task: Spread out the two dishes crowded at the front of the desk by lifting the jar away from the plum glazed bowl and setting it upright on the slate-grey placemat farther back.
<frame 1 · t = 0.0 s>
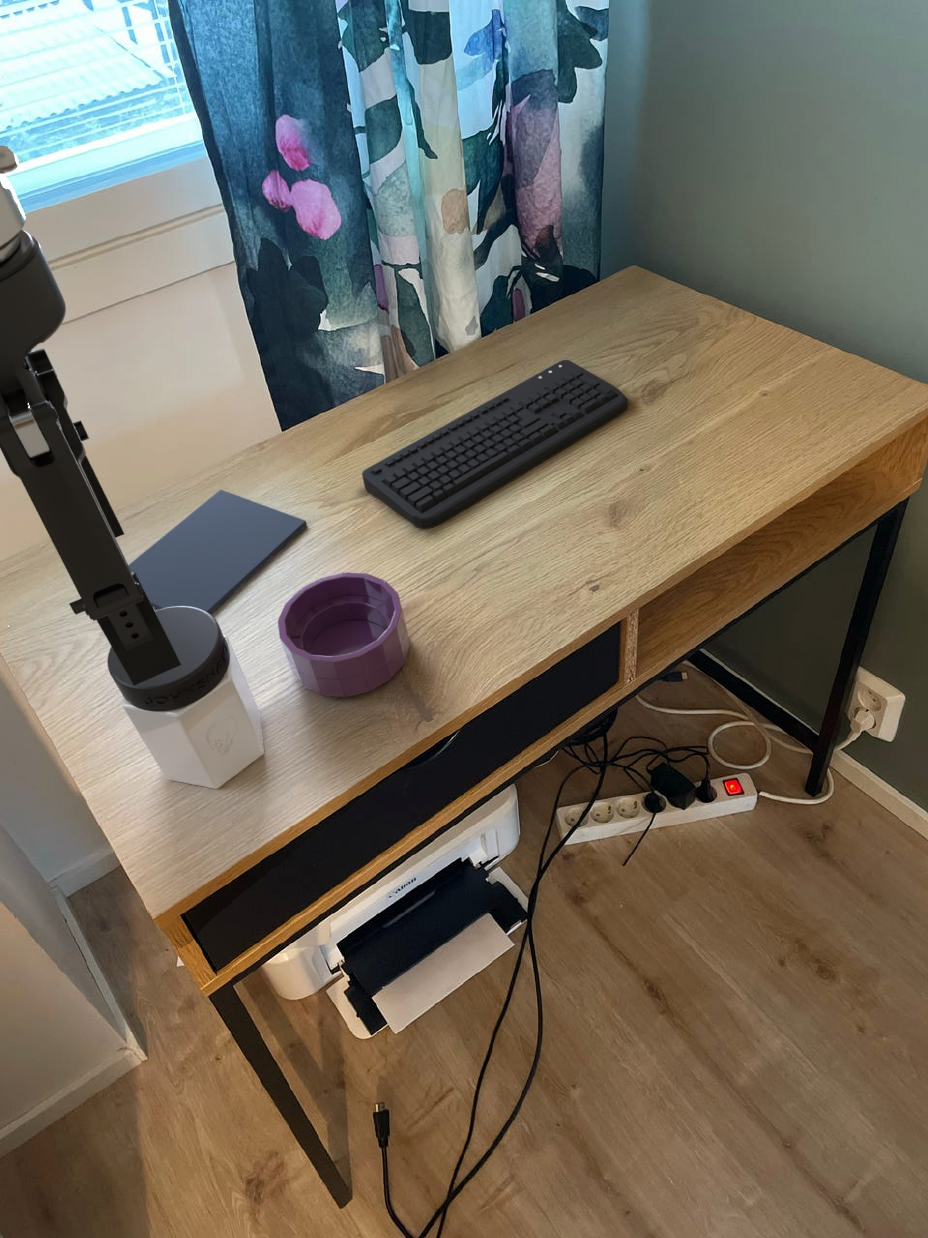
hand: (127, 600, 54), 21 cm above the table, tool pointing down, fingers open, 13 cm apart
bowl: (351, 655, 77), on the table
placemat: (210, 555, 89), on the table
keyboard: (502, 446, 97), on the table
jar: (215, 746, 72), on the table
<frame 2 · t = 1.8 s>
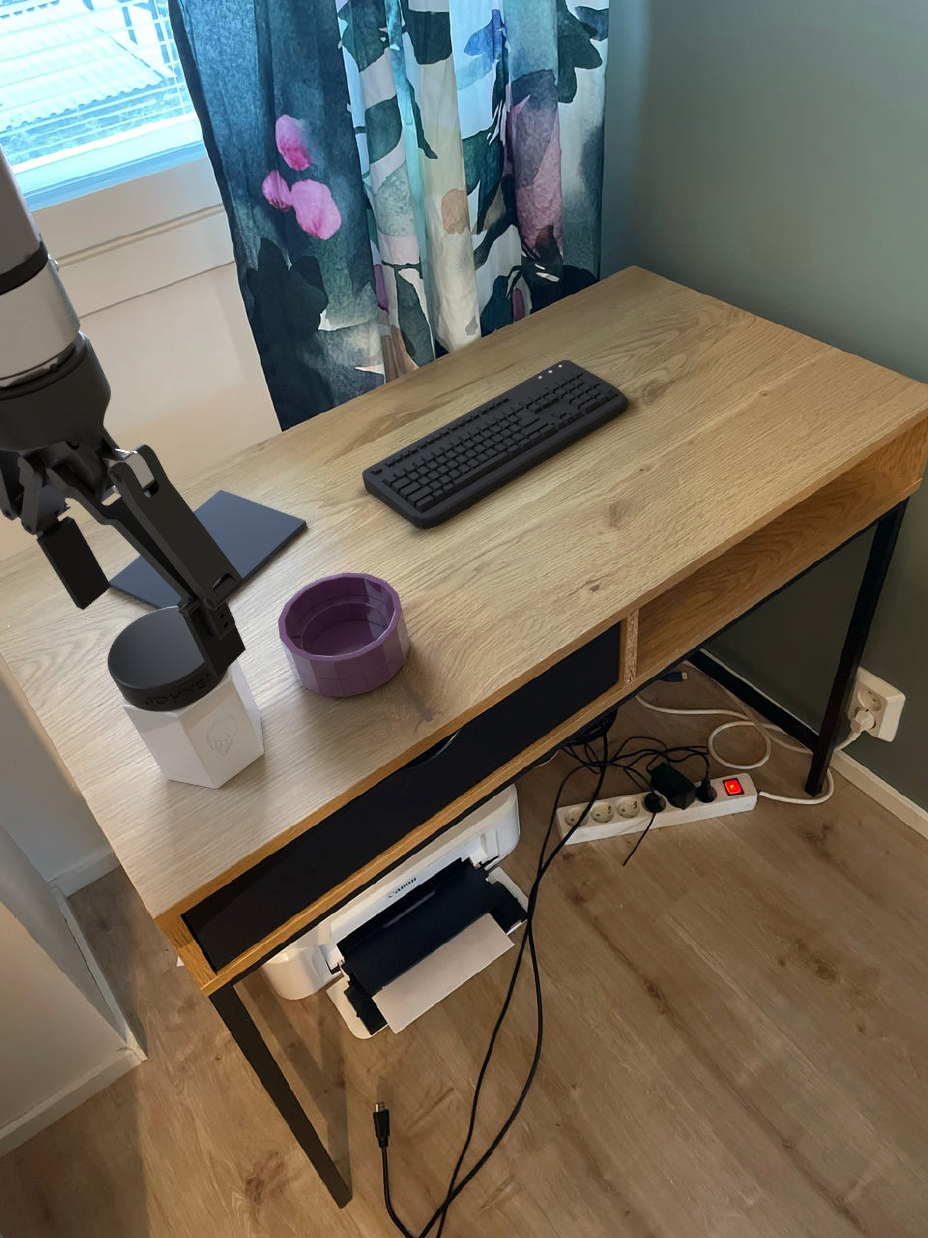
hand: (158, 627, 62), 14 cm above the table, tool pointing down, fingers open, 13 cm apart
nothing on the table moved.
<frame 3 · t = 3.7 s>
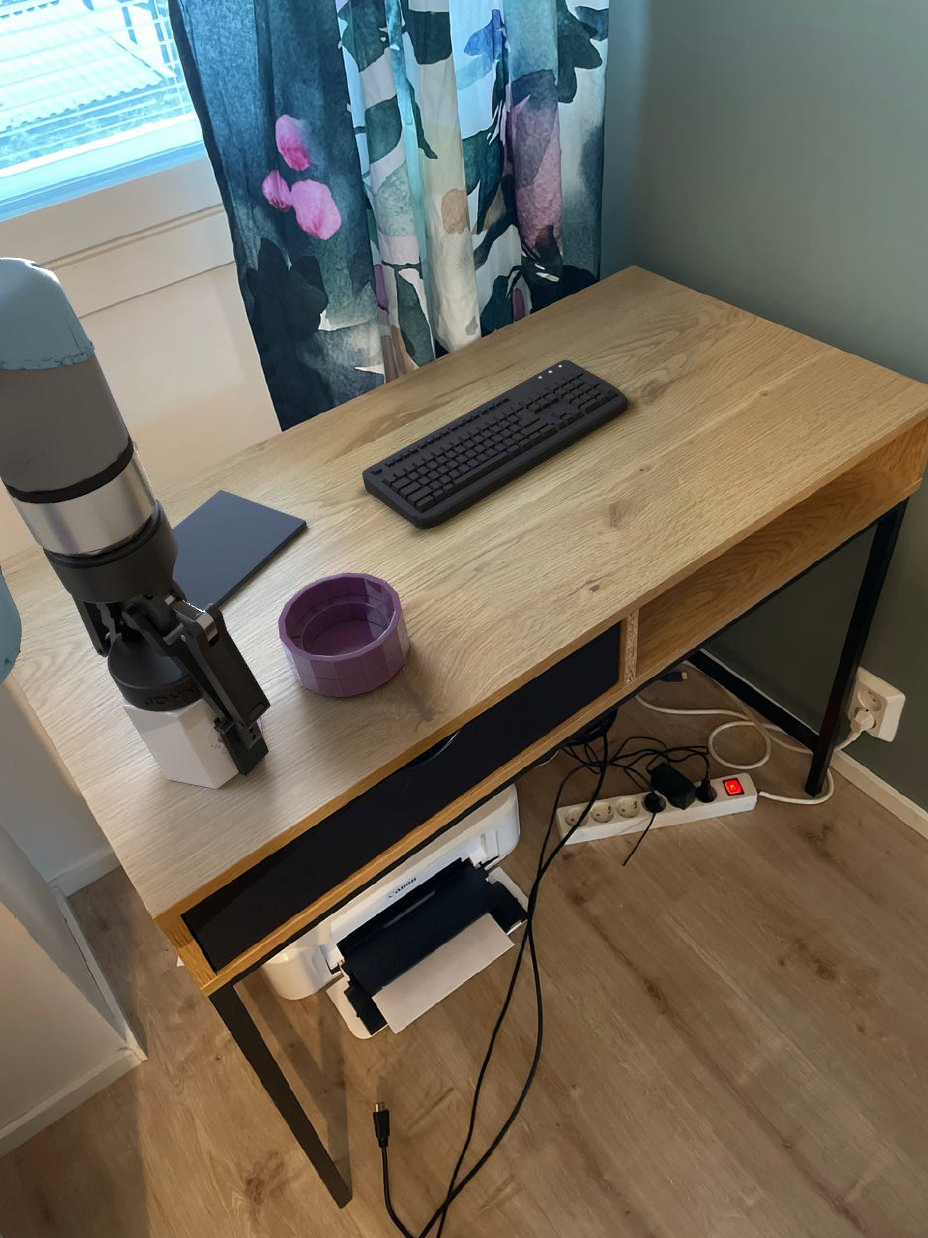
hand: (211, 738, 71), 1 cm above the table, tool pointing down, fingers closed on jar, 9 cm apart
jar: (215, 746, 72), on the table, touching gripper
everything else where it was.
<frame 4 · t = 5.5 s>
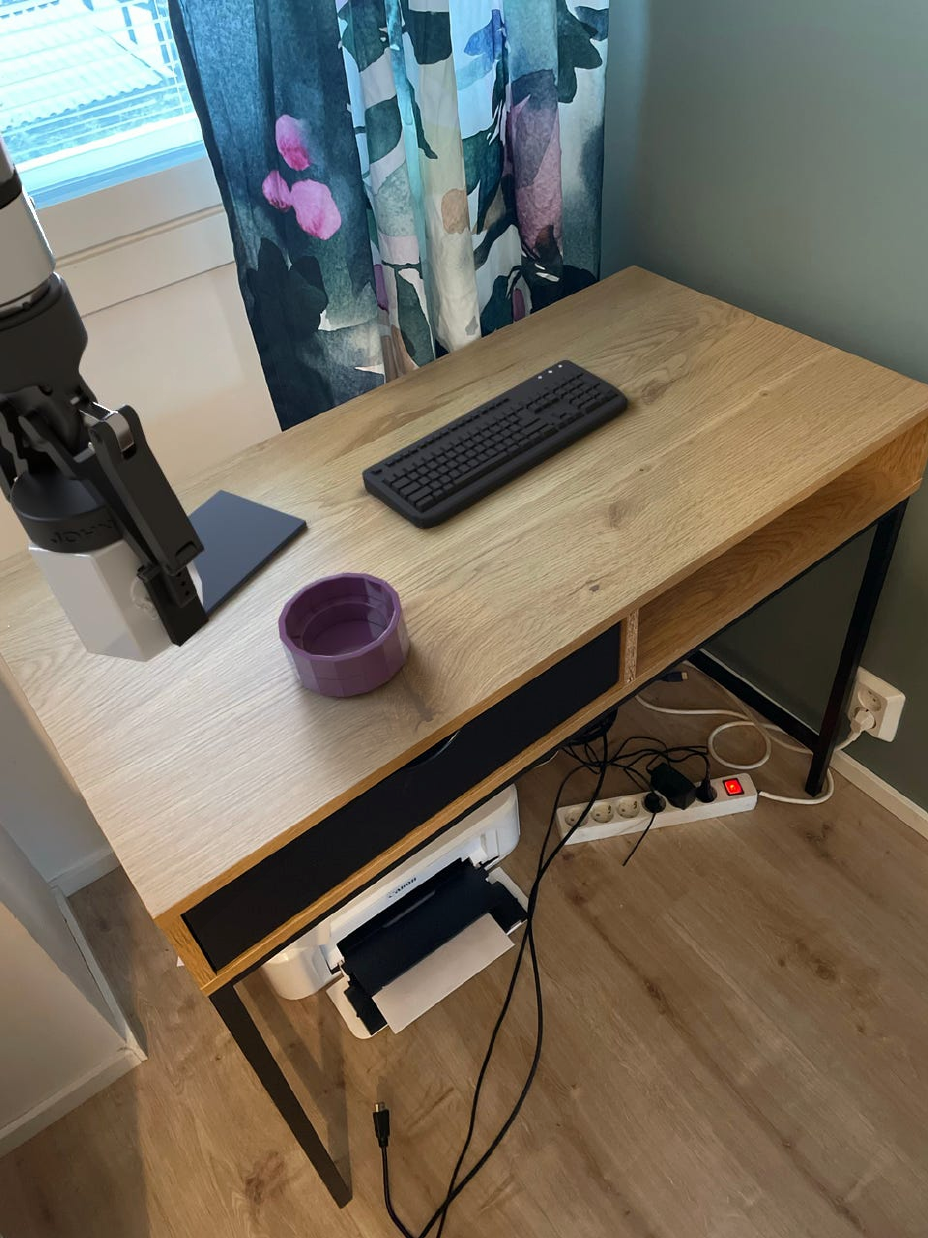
hand: (143, 608, 61), 16 cm above the table, tool pointing down, fingers closed on jar, 9 cm apart
jar: (148, 619, 62), point 14 cm above the table, touching gripper
everything else where it was.
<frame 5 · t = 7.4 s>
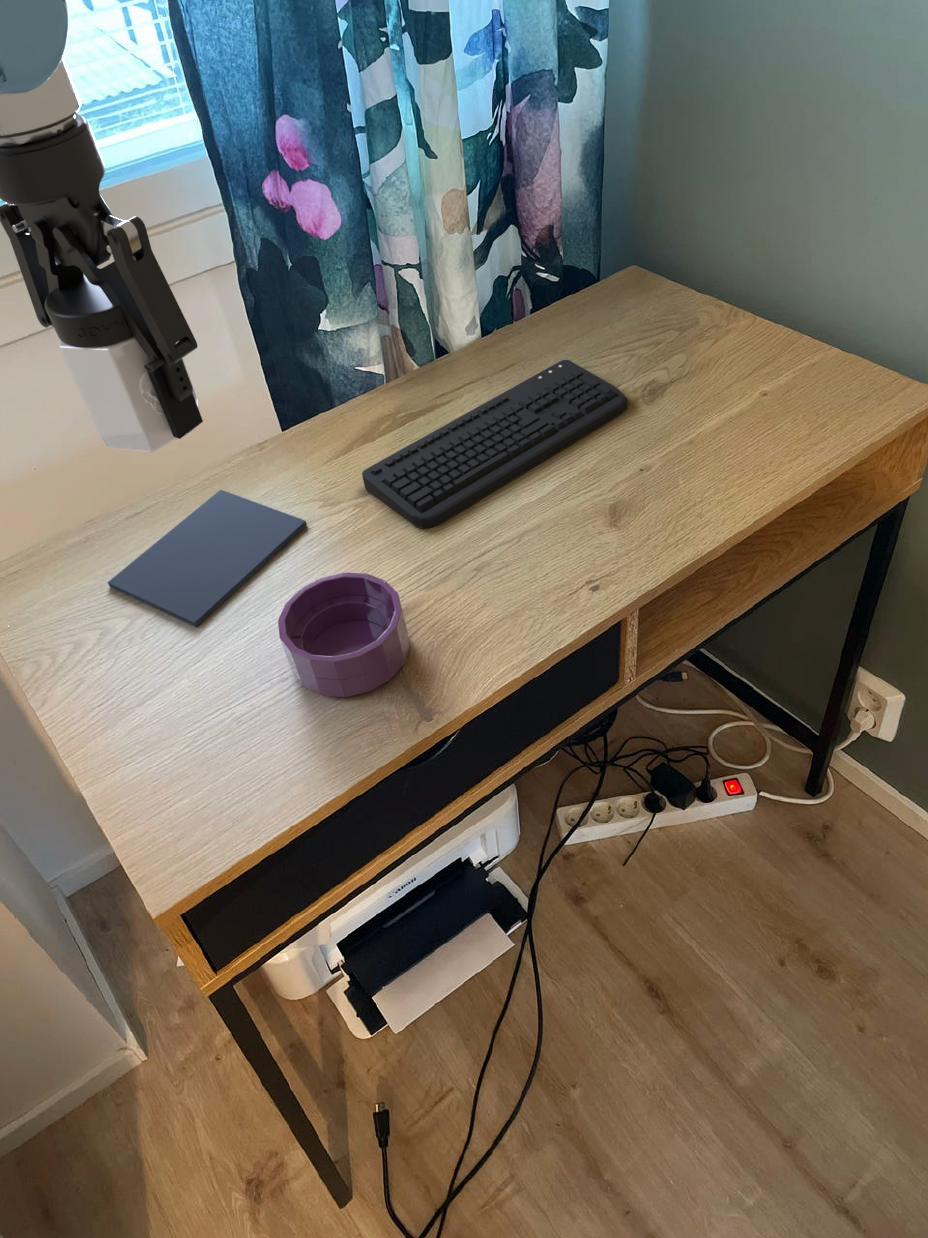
hand: (149, 415, 76), 17 cm above the table, tool pointing down, fingers closed on jar, 9 cm apart
jar: (154, 426, 76), point 16 cm above the table, touching gripper
everything else where it was.
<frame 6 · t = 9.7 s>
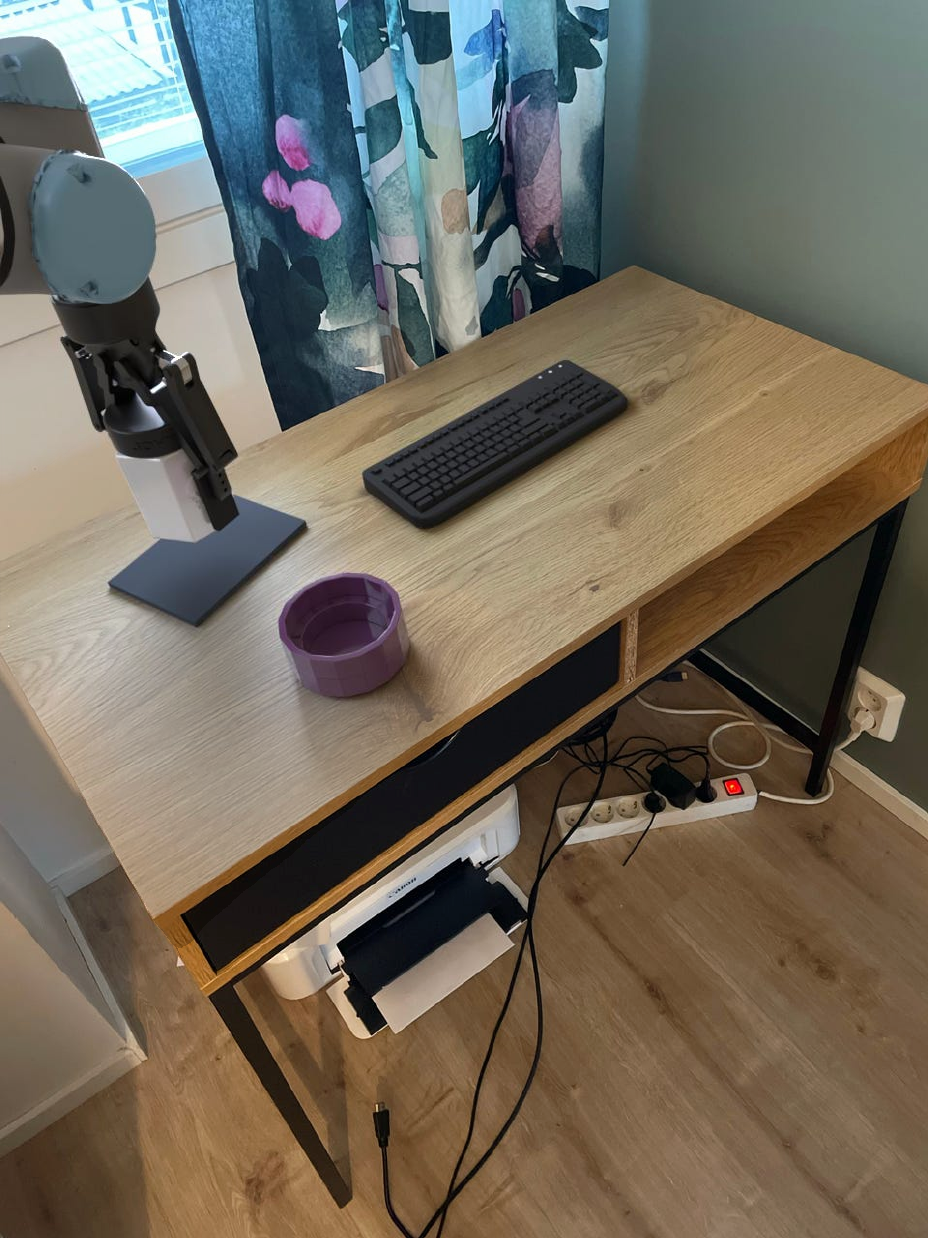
hand: (191, 507, 85), 6 cm above the table, tool pointing down, fingers closed on jar, 9 cm apart
jar: (194, 516, 85), point 5 cm above the table, touching gripper
everything else where it was.
when the fingers open (1 cm above the table, at t = 11.3 s): jar stays where it is, resting on placemat.
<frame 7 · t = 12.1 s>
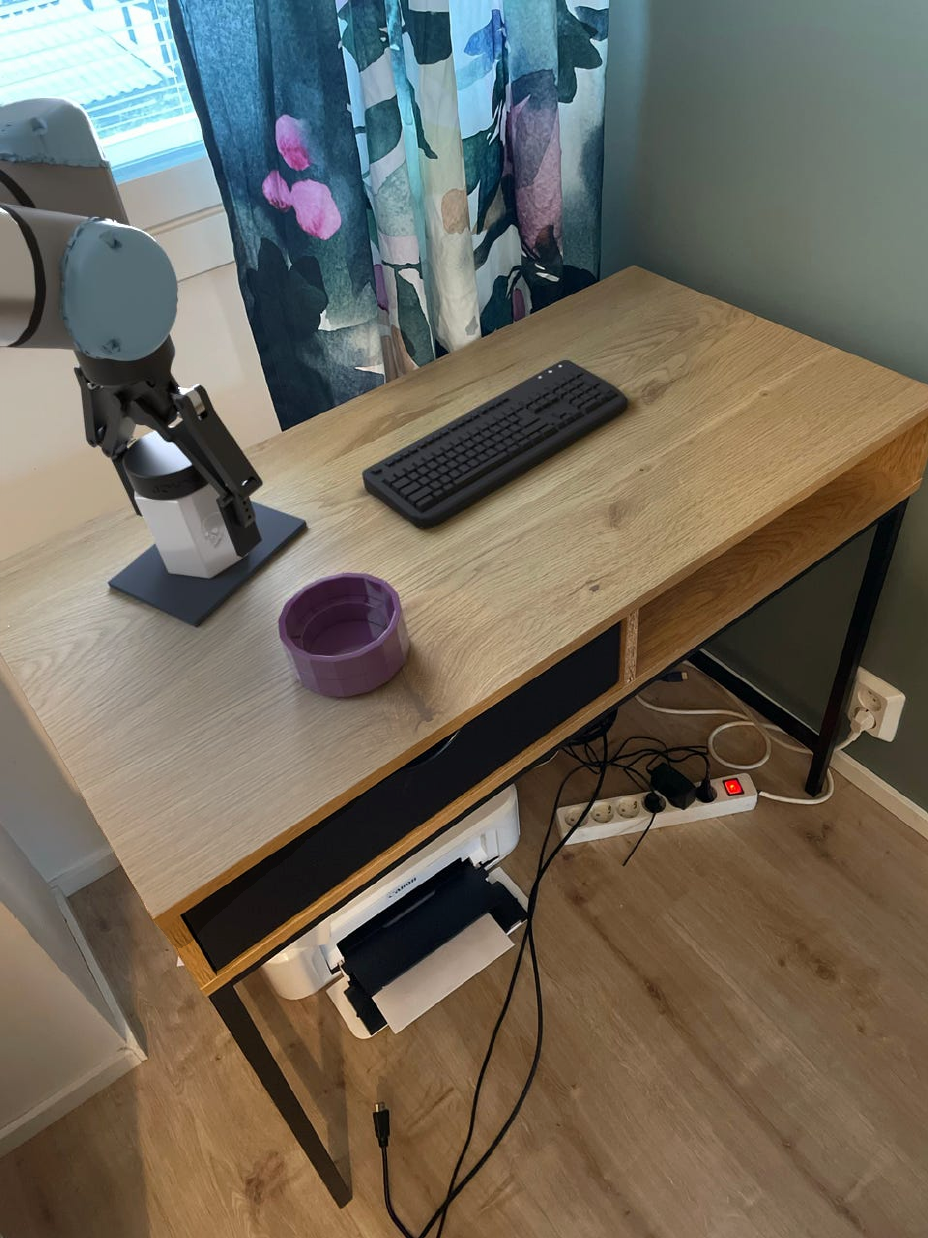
hand: (197, 527, 86), 4 cm above the table, tool pointing down, fingers open, 13 cm apart
jar: (209, 551, 89), resting on placemat
everything else where it was.
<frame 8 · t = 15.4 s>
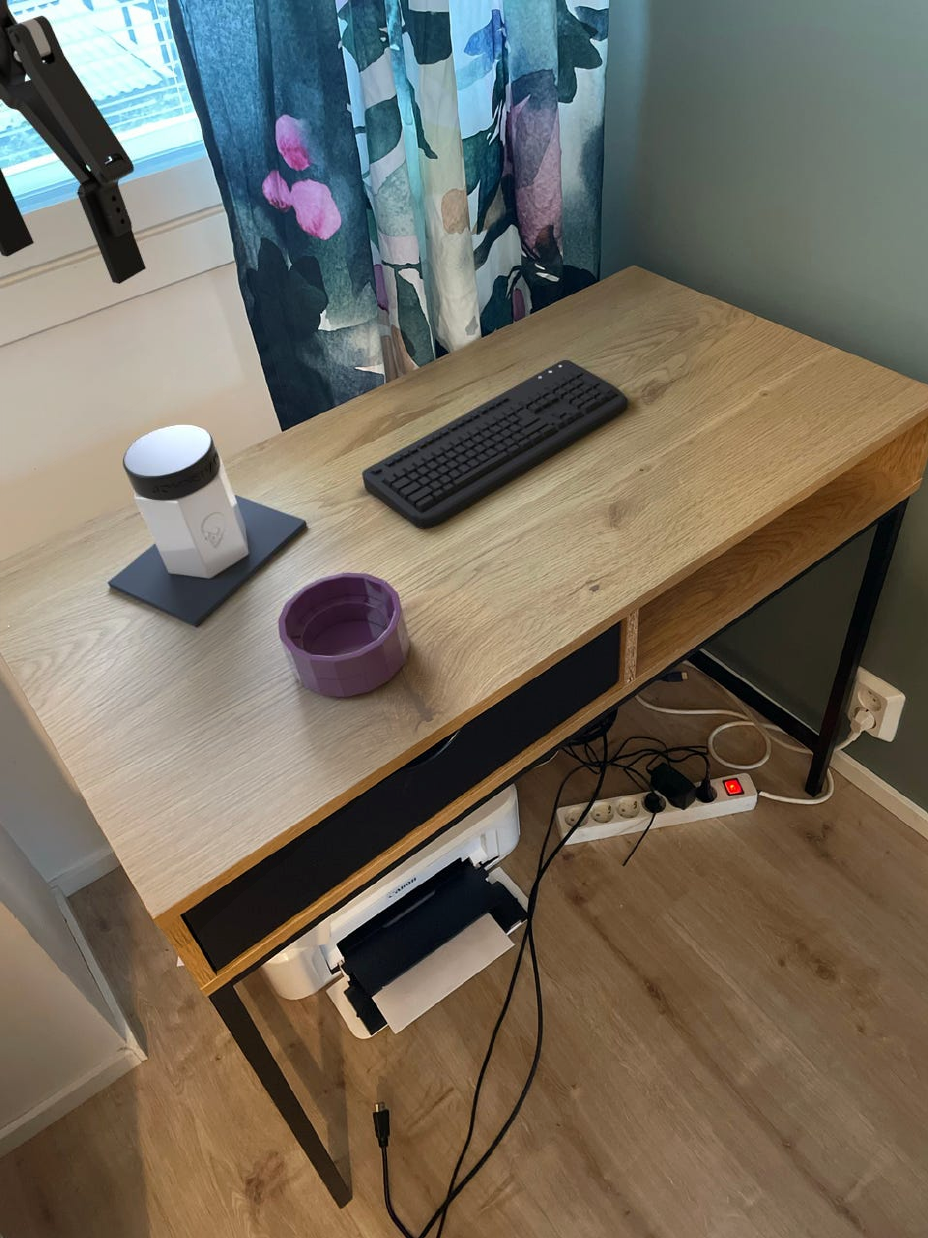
hand: (71, 262, 71), 29 cm above the table, tool pointing down, fingers open, 13 cm apart
nothing on the table moved.
at the end: jar inside the target area on the placemat (0.0 cm from its centre), point 0.4 cm above the placemat's base; jar tilted 0°; jar touching placemat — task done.
